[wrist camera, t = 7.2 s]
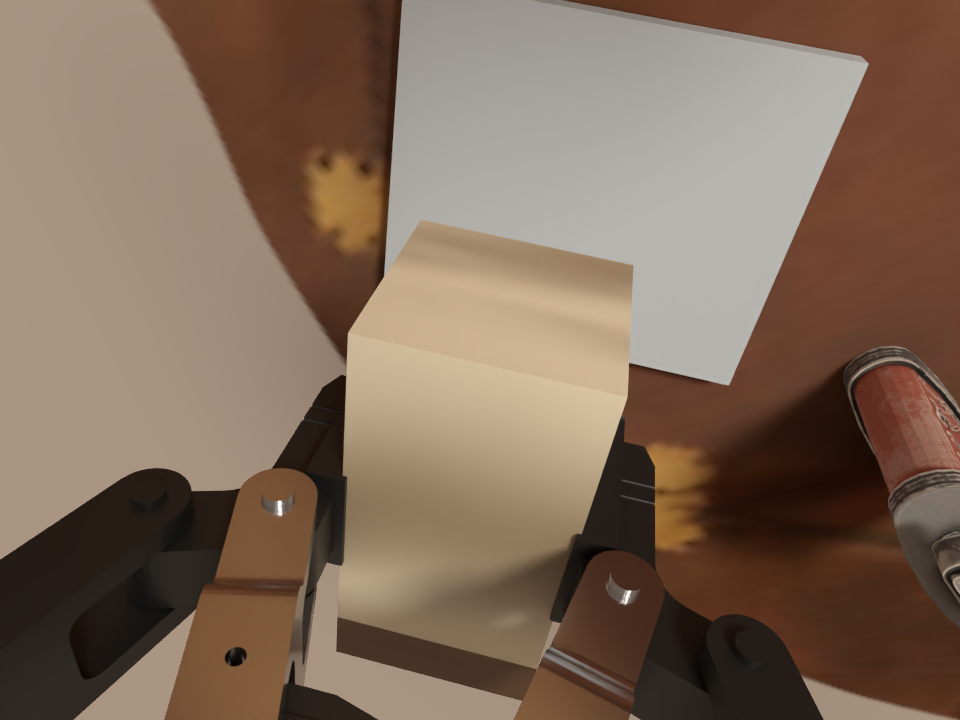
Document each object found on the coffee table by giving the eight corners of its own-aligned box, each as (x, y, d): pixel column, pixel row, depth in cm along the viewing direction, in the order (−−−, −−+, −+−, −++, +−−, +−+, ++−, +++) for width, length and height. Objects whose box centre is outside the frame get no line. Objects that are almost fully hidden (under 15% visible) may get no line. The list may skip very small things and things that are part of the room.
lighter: (999, 473, 29) (1130, 710, 21) (910, 502, 31) (1002, 732, 23) (913, 330, 26) (1027, 538, 18) (822, 370, 28) (889, 577, 20)
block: (420, 219, 13) (348, 333, 10) (633, 265, 13) (627, 397, 10) (392, 510, 18) (336, 651, 15) (548, 549, 18) (526, 702, 15)
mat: (861, 56, 22) (868, 63, 21) (726, 370, 29) (728, 385, 28) (412, -28, 23) (403, -24, 22) (389, 294, 30) (382, 306, 29)
